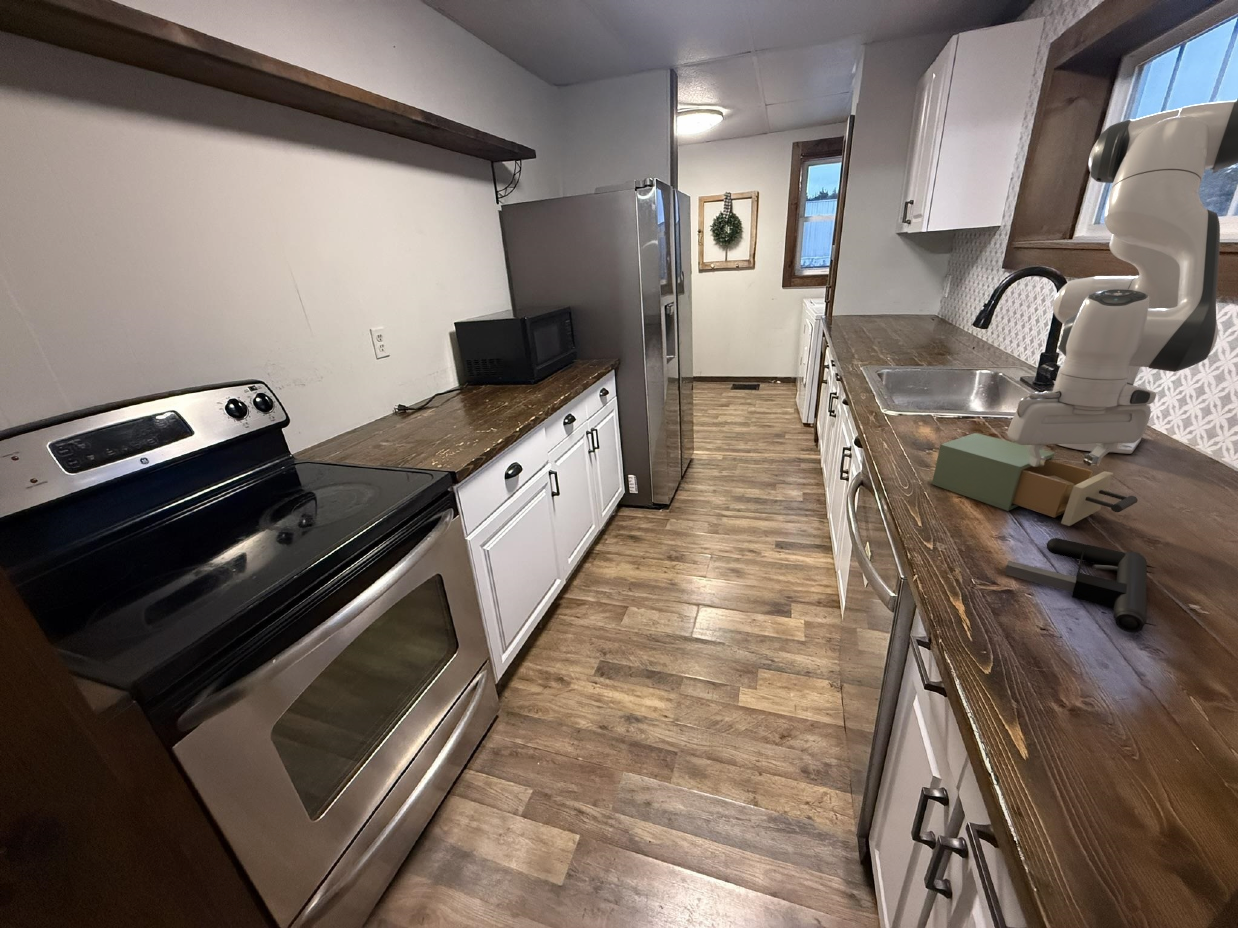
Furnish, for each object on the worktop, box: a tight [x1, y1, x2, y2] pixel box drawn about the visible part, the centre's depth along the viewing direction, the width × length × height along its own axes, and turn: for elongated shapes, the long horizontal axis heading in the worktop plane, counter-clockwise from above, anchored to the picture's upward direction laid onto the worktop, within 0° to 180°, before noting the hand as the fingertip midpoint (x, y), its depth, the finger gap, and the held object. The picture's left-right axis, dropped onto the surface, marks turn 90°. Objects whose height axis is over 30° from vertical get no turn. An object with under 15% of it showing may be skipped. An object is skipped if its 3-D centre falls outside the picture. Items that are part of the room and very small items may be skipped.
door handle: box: [1004, 537, 1157, 633], centre depth 73 cm, size 3×20×16 cm
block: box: [1047, 476, 1075, 504], centre depth 92 cm, size 4×4×4 cm
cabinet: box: [931, 432, 1056, 512], centre depth 101 cm, size 15×13×9 cm
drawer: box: [1012, 459, 1138, 527], centre depth 91 cm, size 18×11×7 cm, turn 28°
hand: (1063, 465), depth 90 cm, fingers open, 8 cm apart
